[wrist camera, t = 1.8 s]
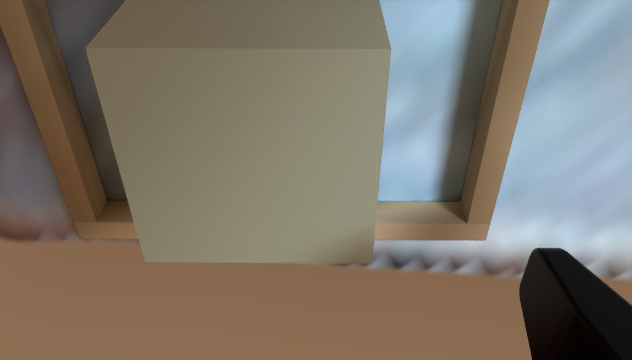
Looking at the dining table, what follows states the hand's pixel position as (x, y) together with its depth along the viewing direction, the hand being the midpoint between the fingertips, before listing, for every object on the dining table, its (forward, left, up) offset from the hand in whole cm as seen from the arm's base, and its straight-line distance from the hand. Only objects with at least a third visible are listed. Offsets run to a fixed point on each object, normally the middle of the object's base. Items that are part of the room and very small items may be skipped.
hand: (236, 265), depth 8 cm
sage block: (0, 0, -10) cm, 10 cm away
